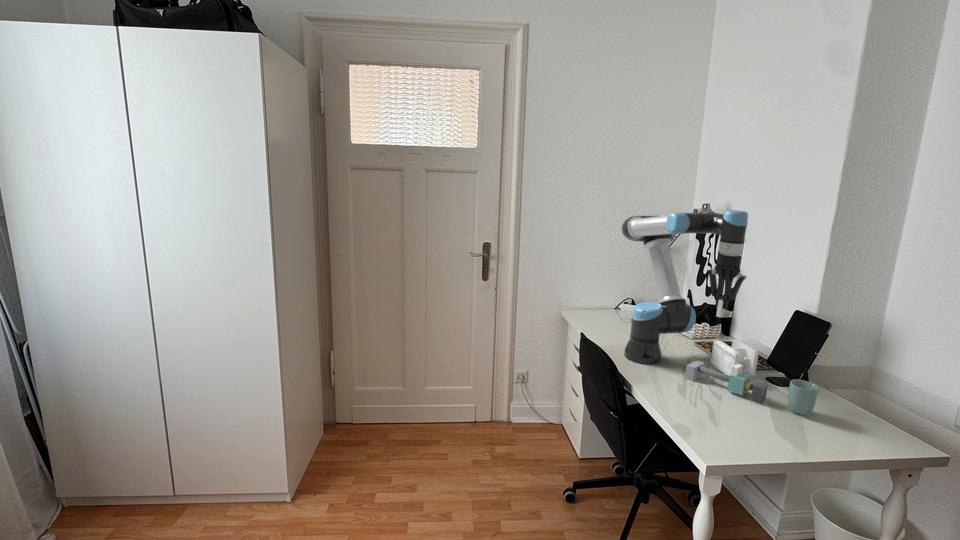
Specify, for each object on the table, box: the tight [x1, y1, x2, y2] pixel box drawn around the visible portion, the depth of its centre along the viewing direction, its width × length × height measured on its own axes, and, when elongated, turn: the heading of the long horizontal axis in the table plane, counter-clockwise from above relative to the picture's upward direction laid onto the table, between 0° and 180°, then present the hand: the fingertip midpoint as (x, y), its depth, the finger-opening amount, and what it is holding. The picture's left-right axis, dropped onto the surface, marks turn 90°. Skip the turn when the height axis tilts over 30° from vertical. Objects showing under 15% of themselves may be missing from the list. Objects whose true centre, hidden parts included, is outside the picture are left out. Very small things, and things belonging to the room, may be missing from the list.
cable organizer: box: [710, 339, 759, 377], centre depth 182 cm, size 15×11×12 cm
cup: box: [786, 378, 819, 416], centre depth 152 cm, size 8×8×10 cm
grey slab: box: [684, 360, 705, 382], centre depth 177 cm, size 3×8×5 cm, turn 129°
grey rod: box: [697, 366, 755, 392], centre depth 169 cm, size 21×3×3 cm, turn 39°
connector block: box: [750, 380, 769, 405], centre depth 160 cm, size 3×5×6 cm, turn 129°
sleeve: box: [727, 364, 752, 396], centre depth 165 cm, size 5×6×9 cm
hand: (719, 316), depth 169 cm, fingers closed
